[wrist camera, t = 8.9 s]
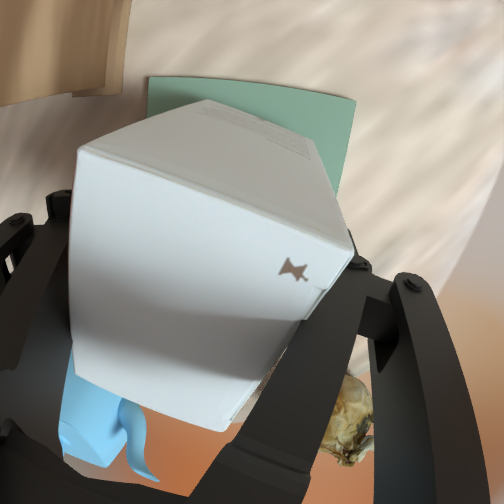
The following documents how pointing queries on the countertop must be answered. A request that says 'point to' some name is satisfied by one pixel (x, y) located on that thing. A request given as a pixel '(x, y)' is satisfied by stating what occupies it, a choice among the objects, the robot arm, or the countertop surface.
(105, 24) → the screen
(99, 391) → the teapot
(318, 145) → the mat
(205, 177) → the small box
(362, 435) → the onion
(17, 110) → the countertop surface
